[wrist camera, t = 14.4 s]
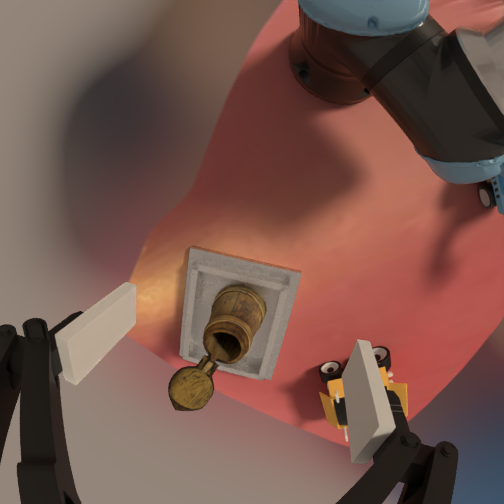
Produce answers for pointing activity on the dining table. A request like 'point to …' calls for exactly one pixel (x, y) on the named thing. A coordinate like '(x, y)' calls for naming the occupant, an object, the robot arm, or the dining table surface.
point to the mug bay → (246, 274)
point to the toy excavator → (493, 192)
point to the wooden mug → (219, 345)
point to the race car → (336, 399)
